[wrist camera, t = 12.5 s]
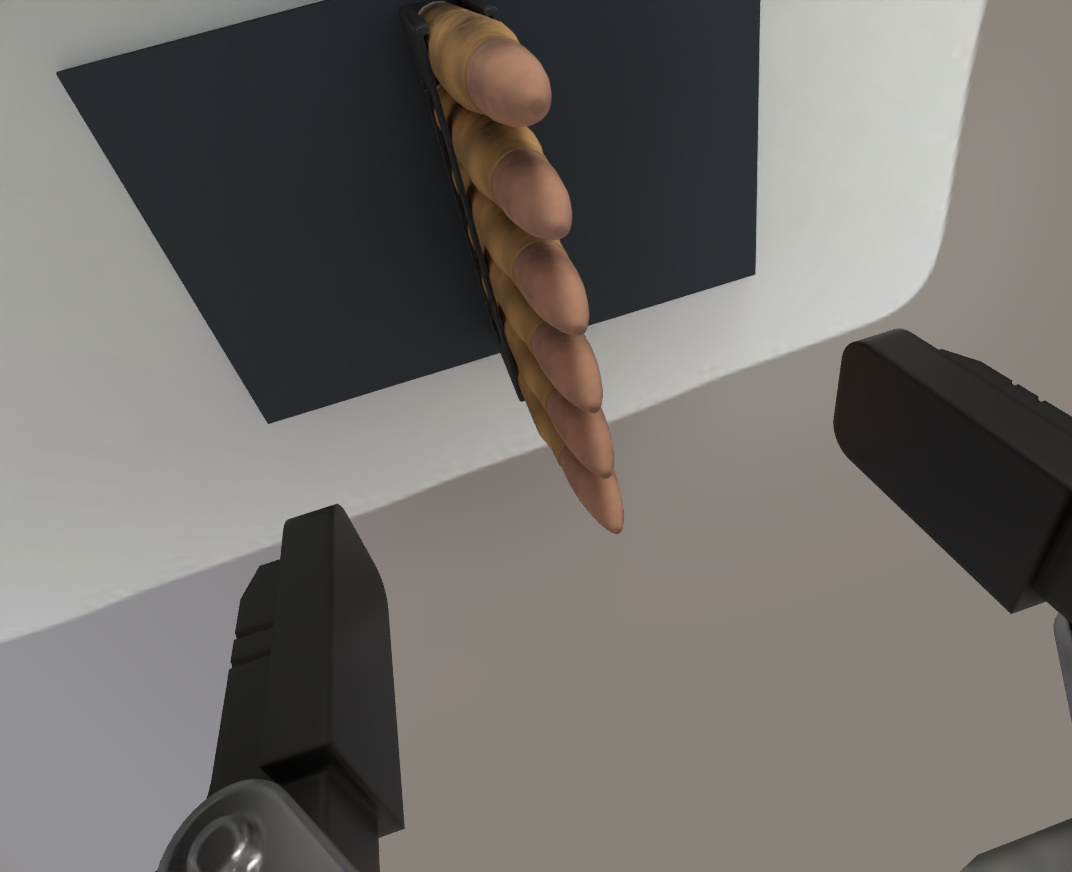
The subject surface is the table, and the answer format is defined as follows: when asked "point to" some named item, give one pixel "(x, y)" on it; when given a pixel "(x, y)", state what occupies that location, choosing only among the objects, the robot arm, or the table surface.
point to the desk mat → (421, 177)
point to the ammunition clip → (517, 230)
